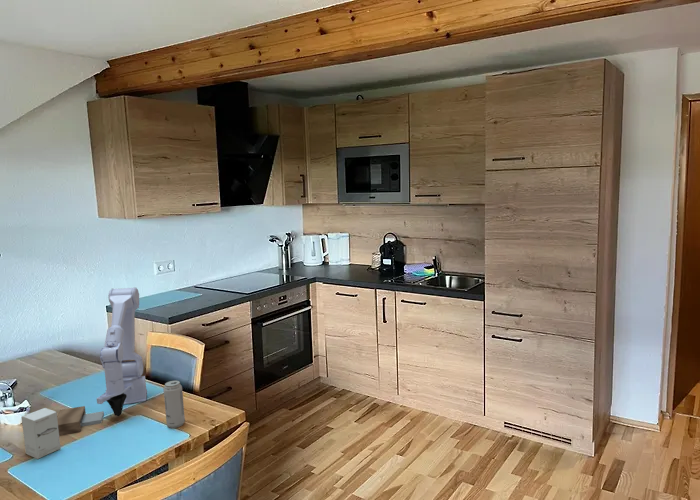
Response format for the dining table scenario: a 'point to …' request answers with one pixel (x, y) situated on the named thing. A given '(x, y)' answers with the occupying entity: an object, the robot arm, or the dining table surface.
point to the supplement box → (41, 432)
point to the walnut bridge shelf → (70, 420)
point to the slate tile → (92, 418)
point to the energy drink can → (174, 404)
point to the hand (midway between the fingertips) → (118, 415)
